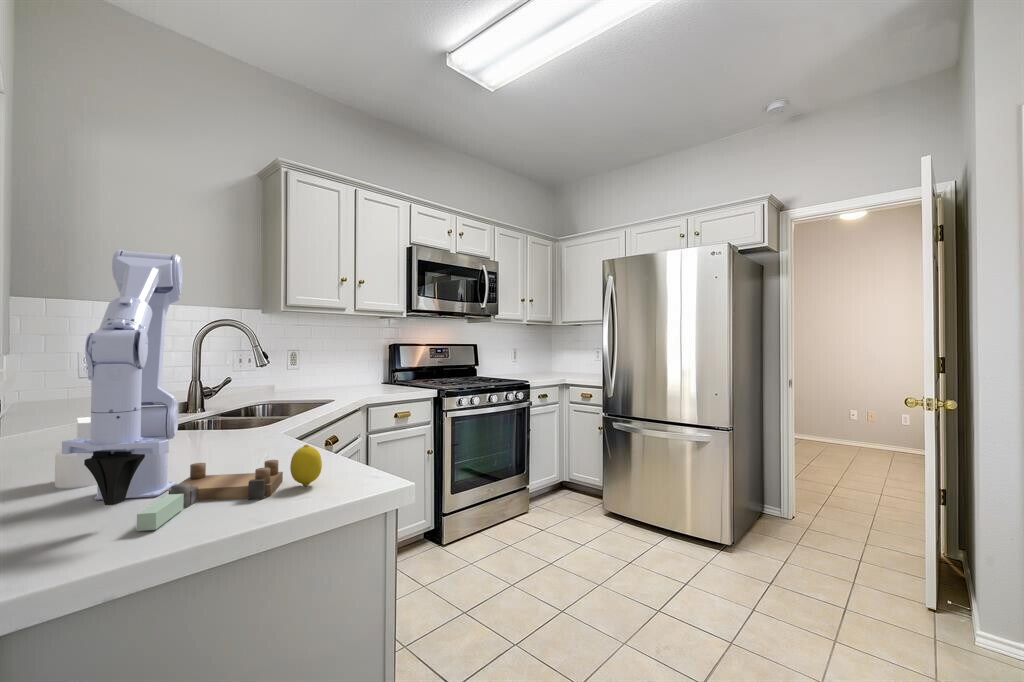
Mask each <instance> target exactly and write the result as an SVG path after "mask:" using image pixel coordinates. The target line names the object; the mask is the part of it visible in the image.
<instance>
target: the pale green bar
mask: <svg viewBox="0 0 1024 682" xmlns="http://www.w3.org/2000/svg"><path fill="white" fill-rule="evenodd" d="M183 503H184V494H169V493H168V494H165V495H164V496H162V497H161V498H160V499H158V500H157V501H154V502H153V503H152V504H150V505H149V506H147V507H145V508H144V509H142V510H140V511H139V512H138V513H137V514H136V531H137V532H139V531H141V532H142V531H153V530H154V531H155V530H156V531H157V529H158V528H160V527H161V526H162V525H164V524H165V523H166V522H168V521H169V520H170V519H172V518H173V517H174V516H176V515H177V514H178V513H179V512H181V511H182V510H184V508H183Z"/></svg>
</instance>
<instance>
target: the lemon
mask: <svg viewBox="0 0 1024 682" xmlns="http://www.w3.org/2000/svg"><path fill="white" fill-rule="evenodd" d="M322 462H323V461H322V456H321V453H320V451H319V450H318V449H317V448H315V447H313V446H310V445H309V444H304V445H303V446H302V447H300V448H298V449H297V450H295V452H294V453H293V454H292V457H291V460H290V467H289V470H290V474H291V476H292V479H293V480H294V481H295V482H297V483H298V484H301V485H302V486H303V487H308V486H309V485H310V484H311V483H313V482H315V481H316V480H317V479H318V478H319V476H320V475H321V472H322V467H323V466H322V465H323V463H322Z"/></svg>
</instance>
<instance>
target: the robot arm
mask: <svg viewBox="0 0 1024 682" xmlns="http://www.w3.org/2000/svg"><path fill="white" fill-rule="evenodd" d="M111 261H112V262H111V268H112V277H113V279H114V281H115V284H116V287H117V291H118V293H120V294H119V297H117V298H116V297H115V298H114V299H113V300H111V301H110V302H109V304H108V305H107V308H106V310H105V312H104V315H103V317H102V321H101V322H100V326H99V328H98V329H96V330H95V331H94V333H93V332H90V333H88V334H87V336H86V339H85V345H84V346H85V348H84V352H85V353H84V354H85V361H86V364H87V365H86V367H87V377H88V379H87V380H89V381H91V384H90V385H91V387H90V389H91V392H90V394H91V396H90V399H91V400H90V417H91V431H90V438H86V439H77V438H70V439H66V440H62V441H61V451H62V454H72V453H93V456H92V458H89V459H86V460H84V465H85V466H86V467H87V468H88V469H89V471H90V472H91V473H92V475H93V476H94V478H95V480H96V482H97V485H96V487H97V489H96V490H97V493H96V495H95V496H94V500H96V501H97V500H99V501H101V500H103V501H102V502H103V504H104V506H116V505H118V504H120V503H124V502H125V501H126V499H132V498H133V499H134V498H135V499H136V498H151V497H153V498H154V497H158V496H159V495H161V494H163V493H165V492H166V491H169V490H170V489H171V486H173V485H176V484H178V482H177V481H168V464H169V462H168V461H169V460H168V459H169V457H168V454H169V452H170V440H173V439H174V438H175V437H176V435H177V434H178V428H179V409H178V408H179V407H178V406H179V404H178V400H177V397H176V396H174V394H172V393H170V392H168V391H166V390H165V389H163V388H162V379H163V378H162V377H163V375H162V374H163V365H164V364H163V362H164V346H165V333H166V318H167V314H168V311H169V307H170V305H171V304H173V303H176V302H179V301H180V298H181V295H182V289H183V288H182V287H183V275H184V274H183V272H184V270H183V269H184V268H183V260H182V257H181V256H180V255H179V254H177V253H174V254H167V253H159V252H158V253H156V252H145V251H134V250H133V251H132V250H124V249H121V248H119V249H117V250H116V251H115V252H114V254H113V255H112V260H111Z"/></svg>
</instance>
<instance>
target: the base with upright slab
mask: <svg viewBox="0 0 1024 682" xmlns="http://www.w3.org/2000/svg"><path fill="white" fill-rule="evenodd" d="M90 431H91V416H85V417H77V418H76V439H86V438H90ZM92 456H93V453H72V454H62V450H60V451H58V452H56V453H55V454H54V461H55V462H54V465H55V466H54V487H55V488H58V487H59V488H58V489H77V488H85V487H92V486H97V482H96V480H95V478H94V476H93V475H92V473H91V472H90V471H89V469H88V468H87V467H86V466H85V465H84V460H86V459H89V458H92Z"/></svg>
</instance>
